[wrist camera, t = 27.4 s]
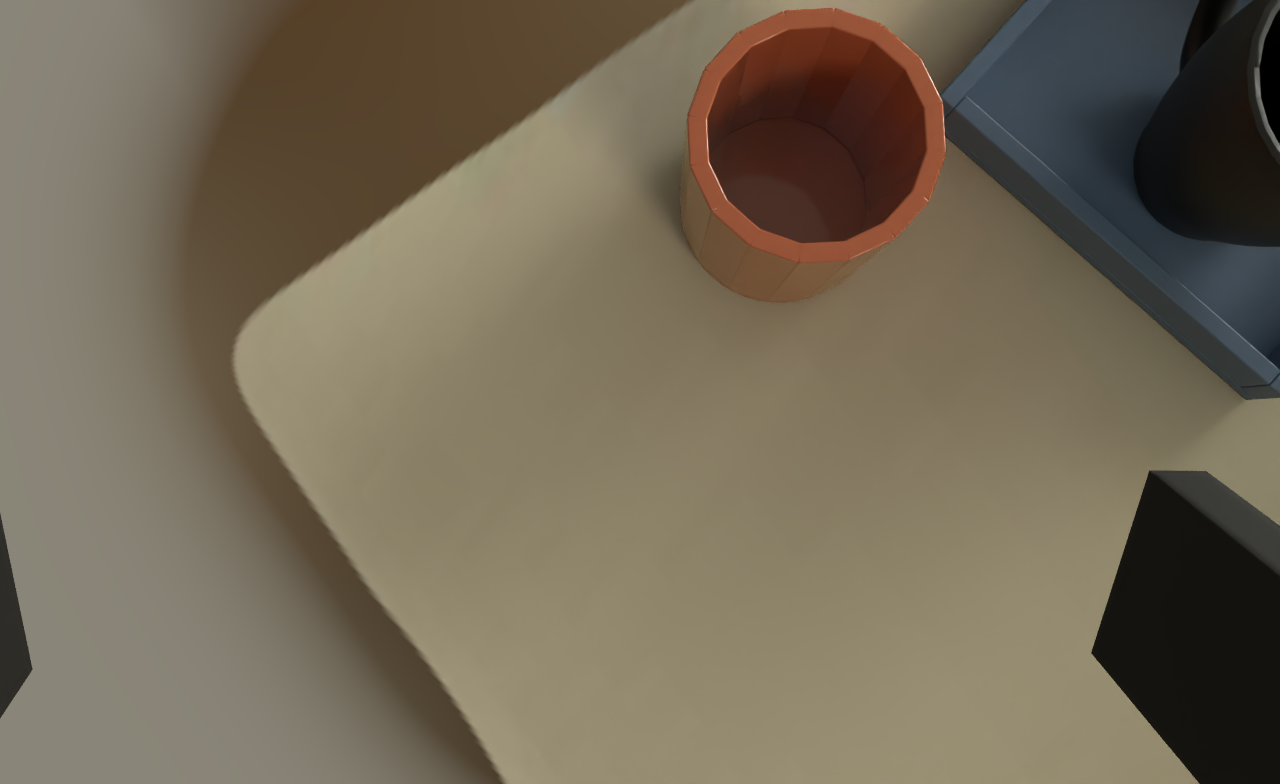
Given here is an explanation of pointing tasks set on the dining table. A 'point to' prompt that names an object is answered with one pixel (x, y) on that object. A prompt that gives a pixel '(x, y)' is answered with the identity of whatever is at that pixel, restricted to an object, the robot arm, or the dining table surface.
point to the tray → (1114, 169)
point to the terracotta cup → (807, 152)
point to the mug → (1219, 130)
